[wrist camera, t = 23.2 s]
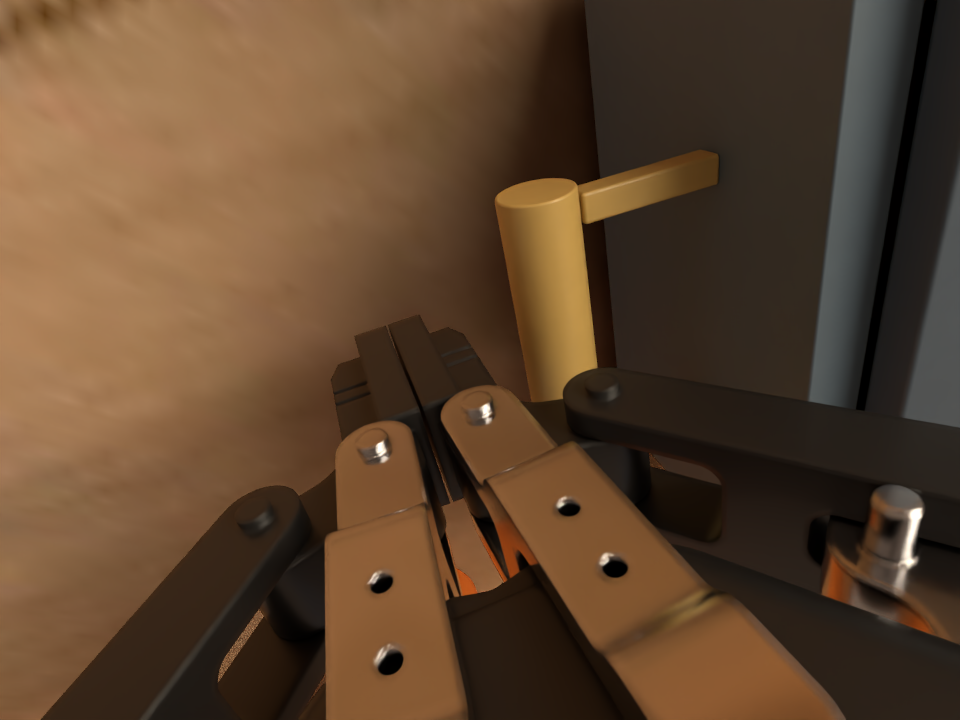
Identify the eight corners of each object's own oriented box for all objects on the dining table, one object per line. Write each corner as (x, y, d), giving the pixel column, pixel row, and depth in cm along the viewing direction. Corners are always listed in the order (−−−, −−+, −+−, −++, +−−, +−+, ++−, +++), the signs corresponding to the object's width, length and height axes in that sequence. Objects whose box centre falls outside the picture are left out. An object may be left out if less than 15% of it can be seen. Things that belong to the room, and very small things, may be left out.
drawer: (504, 465, 20) (618, 674, 13) (398, 7, 13) (529, -22, 6) (1001, 281, 23) (1288, 377, 17) (1128, -161, 16) (1702, -292, 10)
